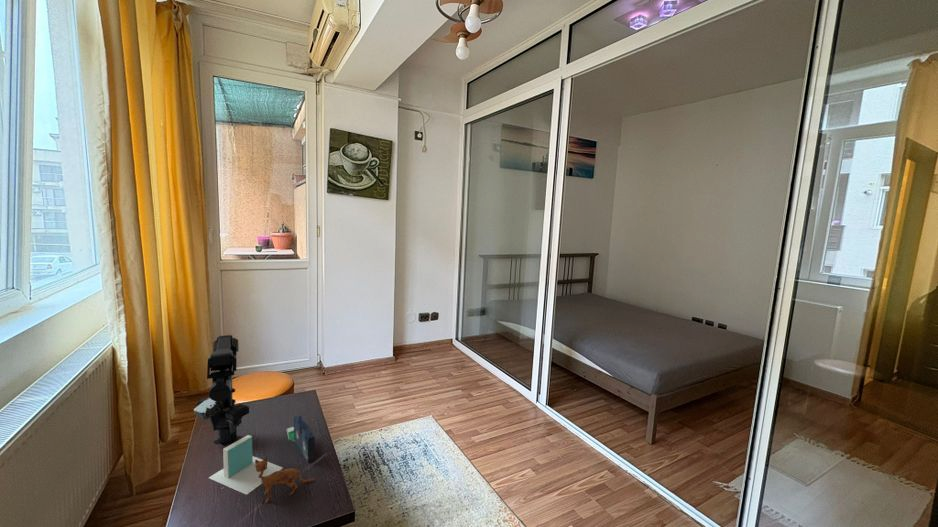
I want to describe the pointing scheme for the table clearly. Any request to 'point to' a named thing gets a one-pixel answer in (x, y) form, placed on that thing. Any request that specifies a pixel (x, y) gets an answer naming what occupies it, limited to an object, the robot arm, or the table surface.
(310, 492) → the table surface
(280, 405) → the table surface
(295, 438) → the vhs cassette tape
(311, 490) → the table surface
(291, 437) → the smartphone
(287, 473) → the cat figurine
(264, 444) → the table surface
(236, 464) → the tile
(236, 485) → the mat
